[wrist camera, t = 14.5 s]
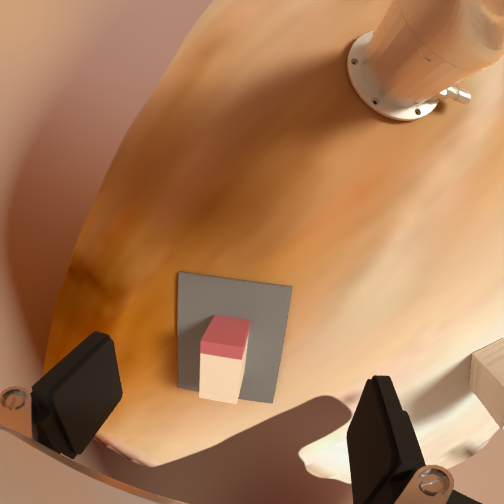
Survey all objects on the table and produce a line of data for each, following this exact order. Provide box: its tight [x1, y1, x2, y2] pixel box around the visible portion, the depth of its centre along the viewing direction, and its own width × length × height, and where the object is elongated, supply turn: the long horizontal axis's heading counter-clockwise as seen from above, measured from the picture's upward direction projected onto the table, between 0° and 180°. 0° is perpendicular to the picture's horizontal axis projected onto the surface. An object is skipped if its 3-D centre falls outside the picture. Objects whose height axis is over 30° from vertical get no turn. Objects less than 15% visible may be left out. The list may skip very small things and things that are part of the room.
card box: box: [199, 315, 250, 404], centre depth 35 cm, size 8×4×7 cm, turn 174°
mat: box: [177, 271, 292, 403], centre depth 39 cm, size 14×18×1 cm
